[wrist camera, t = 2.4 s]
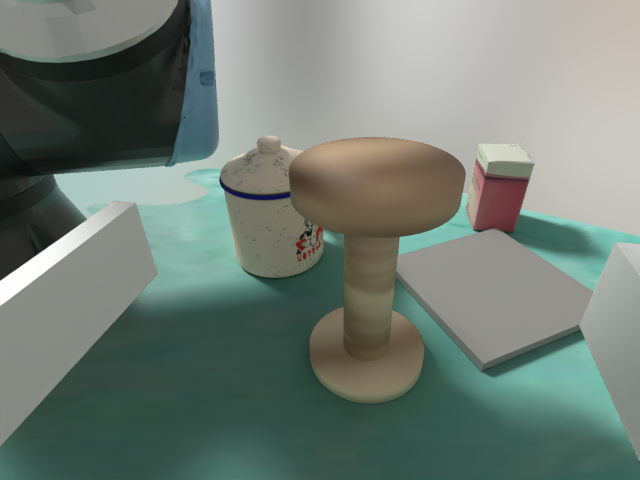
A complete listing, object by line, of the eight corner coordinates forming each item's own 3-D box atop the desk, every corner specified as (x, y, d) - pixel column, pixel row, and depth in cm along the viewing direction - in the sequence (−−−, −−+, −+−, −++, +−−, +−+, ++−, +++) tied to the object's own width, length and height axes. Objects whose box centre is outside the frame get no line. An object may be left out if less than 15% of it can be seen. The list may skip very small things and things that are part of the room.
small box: (464, 208, 46) (477, 142, 42) (504, 209, 46) (521, 142, 41) (472, 231, 42) (487, 160, 38) (515, 233, 41) (536, 161, 37)
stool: (286, 330, 31) (267, 152, 23) (387, 298, 34) (402, 128, 26) (334, 432, 24) (330, 226, 16) (457, 381, 27) (506, 183, 19)
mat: (384, 266, 37) (385, 259, 37) (494, 234, 41) (496, 227, 41) (481, 371, 27) (483, 363, 27) (614, 315, 31) (618, 308, 31)
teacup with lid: (318, 285, 35) (313, 161, 29) (220, 278, 37) (194, 157, 30) (334, 217, 45) (333, 113, 39) (256, 213, 46) (243, 112, 40)
